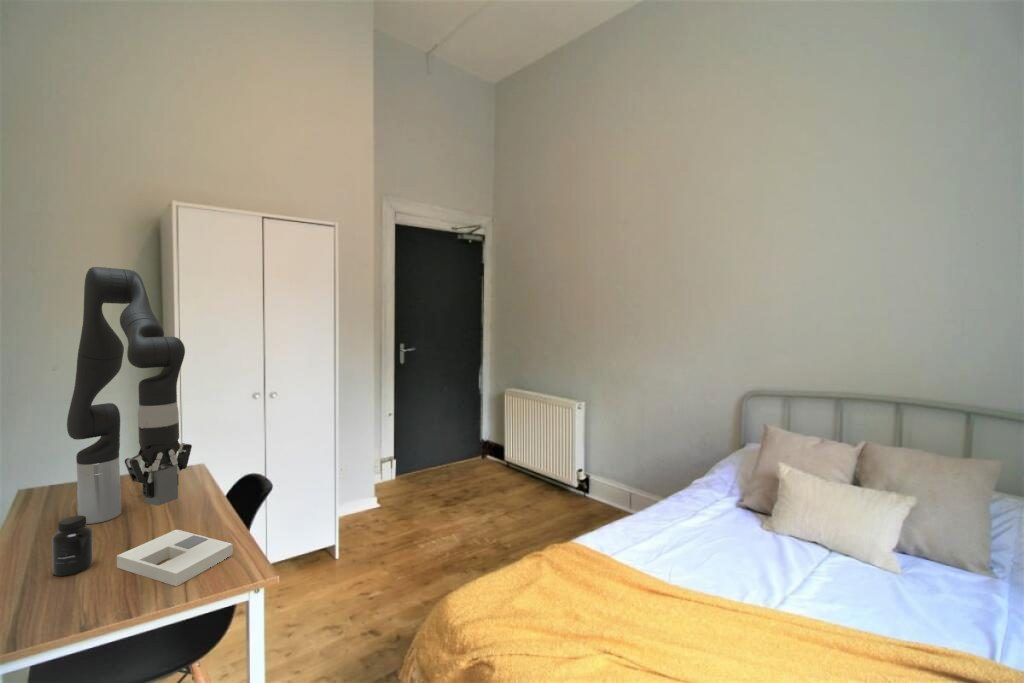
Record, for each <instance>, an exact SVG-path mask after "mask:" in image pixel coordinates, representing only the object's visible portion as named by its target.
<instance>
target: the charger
mask: <svg viewBox="0 0 1024 683" xmlns="http://www.w3.org/2000/svg"><path fill="white" fill-rule="evenodd" d="M151 467H152V466H150V468H151ZM178 480H179V477H178V478H177V466H176V465H175V466H170V465H165V464H162V465H161V466H159V467H158V471H155V472H154V479H153V482H154V497H153V498H147V497H145V496H144V503H145V504H148V505H149V504H150V505H152V506H153V505H154V506H156V507H157V506H158V507H159V506H163V505H164V504H166V503H171V502H173V501H174V500H177V499H179V488H178V487H179V484H178V482H179V481H178Z"/></svg>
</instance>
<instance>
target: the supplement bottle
mask: <svg viewBox="0 0 1024 683" xmlns="http://www.w3.org/2000/svg"><path fill="white" fill-rule="evenodd" d="M51 545H52V547H51V548H52V550H51V553H52V573H53V575H55V576H56V577H57V576H58V577H66V576H72V575H76V574H79V573H81V572H84V571H85V570H87V569H89V568H90V567H91V566H92V565H93V530H92V528H91V527H89V526H87V524H86V517H85V516H78V515H73V516H69V517H65V518H63V519H61V520H59V521H58V522H57V532H56V533H55V534H54V535H53V537H52V540H51Z"/></svg>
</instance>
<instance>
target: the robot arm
mask: <svg viewBox="0 0 1024 683" xmlns="http://www.w3.org/2000/svg"><path fill="white" fill-rule="evenodd" d="M83 288H84V289H83V313H82V314H83V318H82V327H81V332H80V333H81V334H80V339H79V345H78V351H77V358H76V370H75V371H76V373H75V381H74V388H73V393H72V397H71V402H70V406H69V410H68V414H67V420H66V429H67V430H66V431H67V434H68V436H69V437H70V438H71V439H73V440H75V441H76V440H87V439H92V438H98V437H99V439H98V440H96V441H95V442H94V443H93V444H91V445H89V446H87V447H85V448H82V449H81V450H79V451H78V452H77V453H76V455H75V456H76V459H75V460H76V461H75V462H76V478H77V486H76V496H77V497H76V498H77V499H76V500H77V516H85V517H86V525H91V524H93V525H94V524H98V523H103V522H108V521H110V520H113V519H115V518H118V517H119V516H120V515H121V514H122V496H121V495H122V494H121V493H122V492H121V470H120V469H121V468H120V467H121V466H120V447H121V446H120V445H121V438H120V437H121V412H120V409H119V407H118V406H117V405H116V404H114V403H112V402H109V403H99V404H93V401H94V400H95V398H96V397H97V396H98V394H99V393H100V392H101V391H102V390H103V389H104V388H105V387H106V386H107V385H108V384H109V383H110V382H111V381H112V380H114V379H115V377H116V376H117V375H118V374H119V372H120V371H121V368H122V365H123V360H124V359H123V358H124V352H125V351H124V349H125V348H124V344H123V342H122V340H121V338H120V337H119V335H118V334H117V333H116V331H115V330H114V329H113V328H112V327H111V326H110V324H109V323H108V321H107V319H106V318H105V315H104V313H103V305H104V304H115V305H116V304H120V305H121V304H122V305H124V304H125V305H127V304H128V305H127V306H126V307H125V308H124V309H123V310H122V312H121V313H120V316H119V325H120V328H121V330H122V332H123V333H124V335H125V337H126V338H127V343H128V344H127V345H128V346H127V352H126V353H127V354H126V355H127V360H128V362H129V363H130V364H131V366H133V367H135V368H139V369H152V368H163V369H162V370H161V372H160V373H159V374H156V375H154V376H151V377H147V378H144V379H141V380H140V381H139V382H138V412H137V422H138V423H137V425H138V428H137V429H138V444H139V446H140V447H139V451H138V454H137V455H134V456H133V457H126V458H125V459H124V464H125V466H126V469H127V471H128V474H129V476H130V479H131V481H132V482H133V483H135V482H136V483H140V484H142V485H141V486H142V495H143V496H144V498H145V497H147V498H153V497H154V482H153V479H154V472H155V471H158V467H159V466H161V465H162V464H165V465H170V466H175V465H176V466H177V478H178V485H179V483H180V482H179V481H180V480H179V474H180V472H181V471H182V470H186V469H187V467H188V464H189V459H190V456H191V451H192V447H193V445H192V444H190V443H185V442H184V443H180V442H179V439H180V423H179V422H180V419H179V418H180V417H179V415H180V414H179V413H180V412H179V405H178V394H177V393H178V391H177V390H178V388H177V386H178V379H179V375H180V371H181V367H182V366H183V365H182V364H183V362H184V359H185V355H186V354H185V353H186V348H185V345H184V343H183V341H182V340H181V339H180V338H179V337H177V336H164V335H165V332H164V329H163V327H162V325H161V324H160V322H159V320H158V319H157V318H156V316H155V315H154V312H153V310H152V307H151V304H150V300H149V297H148V293H147V291H146V287H145V284H144V281H143V280H142V278H141V276H140V275H139V274H138V272H137V271H135V270H131V269H127V268H126V269H125V268H115V267H113V268H112V267H106V266H105V267H103V266H92V267H90V268H89V269H88V270H87V272H86V275H85V277H84V287H83ZM176 455H177V456H176ZM141 460H142V461H143V463H142V462H141ZM141 465H142V468H141ZM150 467H151V468H150Z"/></svg>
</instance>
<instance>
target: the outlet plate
mask: <svg viewBox="0 0 1024 683" xmlns="http://www.w3.org/2000/svg"><path fill="white" fill-rule="evenodd" d="M233 551H234V550H233V543H230V542H227V541H223V540H220V539H215V538H211V537H207V536H204V535H199V534H196V533H191V532H188V531H184V530H181V529H175V530H172V531H169V532H168V533H165V534H162V535H160V536H157V537H156V538H154V539H153V538H152V540H149V541H147V542H145V543H142V544H140V545H138V546H136V547H134V548H131V549H129V550H126V551H124V552H122V553H119V554H117V555H116V568H117V569H121V570H124V571H127V572H130V573H133V574H136V575H139V576H142V577H145V578H147V579H148V578H149V579H152V580H155V581H158V582H162V583H165V584H167V585H171V586H174V587H179V586H180V585H182V584H183V583H186V582H188V581H189V580H191V579H192V578H194V577H196V576H198V575H200V574H202V573H203V572H205V571H207V570H209V569H211V568H213V567H214V566H216V565H218V564H220V563H221V562H223V561H225V560H227V559H228V558H227V557H229V556H231V555H232V556H233V553H234V552H233ZM232 556H231V557H232ZM226 558H227V559H226ZM229 558H230V557H229ZM168 559H169V560H168ZM224 559H225V560H224ZM166 560H167V561H166ZM163 561H165V562H163ZM161 562H163V563H161ZM219 562H220V563H219ZM159 563H161V564H159ZM217 563H218V564H217ZM210 567H211V568H210Z"/></svg>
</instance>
